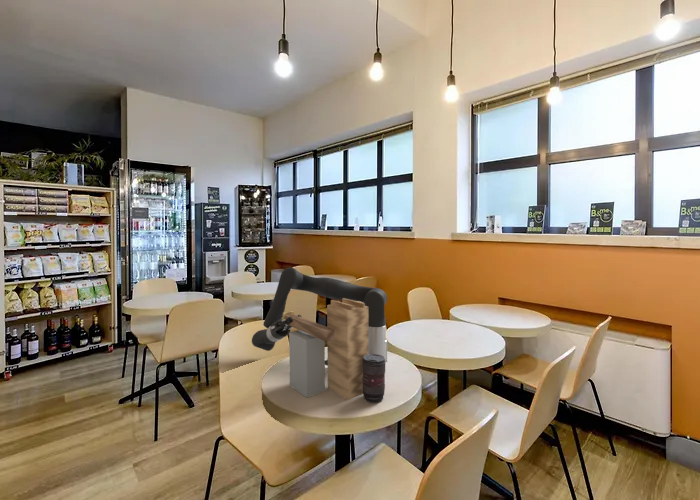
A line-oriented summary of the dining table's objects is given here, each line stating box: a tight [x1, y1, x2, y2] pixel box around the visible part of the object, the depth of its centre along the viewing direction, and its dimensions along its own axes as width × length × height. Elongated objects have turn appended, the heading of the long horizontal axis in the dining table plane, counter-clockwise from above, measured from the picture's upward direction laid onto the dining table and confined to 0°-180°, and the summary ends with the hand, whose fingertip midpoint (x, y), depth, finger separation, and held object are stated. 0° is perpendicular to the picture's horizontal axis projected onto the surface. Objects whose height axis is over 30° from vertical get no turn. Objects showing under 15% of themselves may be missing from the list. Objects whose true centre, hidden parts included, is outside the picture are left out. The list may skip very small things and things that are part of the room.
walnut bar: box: [282, 310, 334, 343], centre depth 129 cm, size 4×30×4 cm, turn 40°
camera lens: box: [362, 354, 386, 404], centre depth 122 cm, size 8×8×15 cm
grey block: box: [288, 329, 326, 398], centre depth 130 cm, size 8×12×21 cm, turn 40°
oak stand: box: [326, 298, 369, 401], centre depth 128 cm, size 10×12×34 cm
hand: (296, 318), depth 135 cm, fingers closed on walnut bar, 3 cm apart
